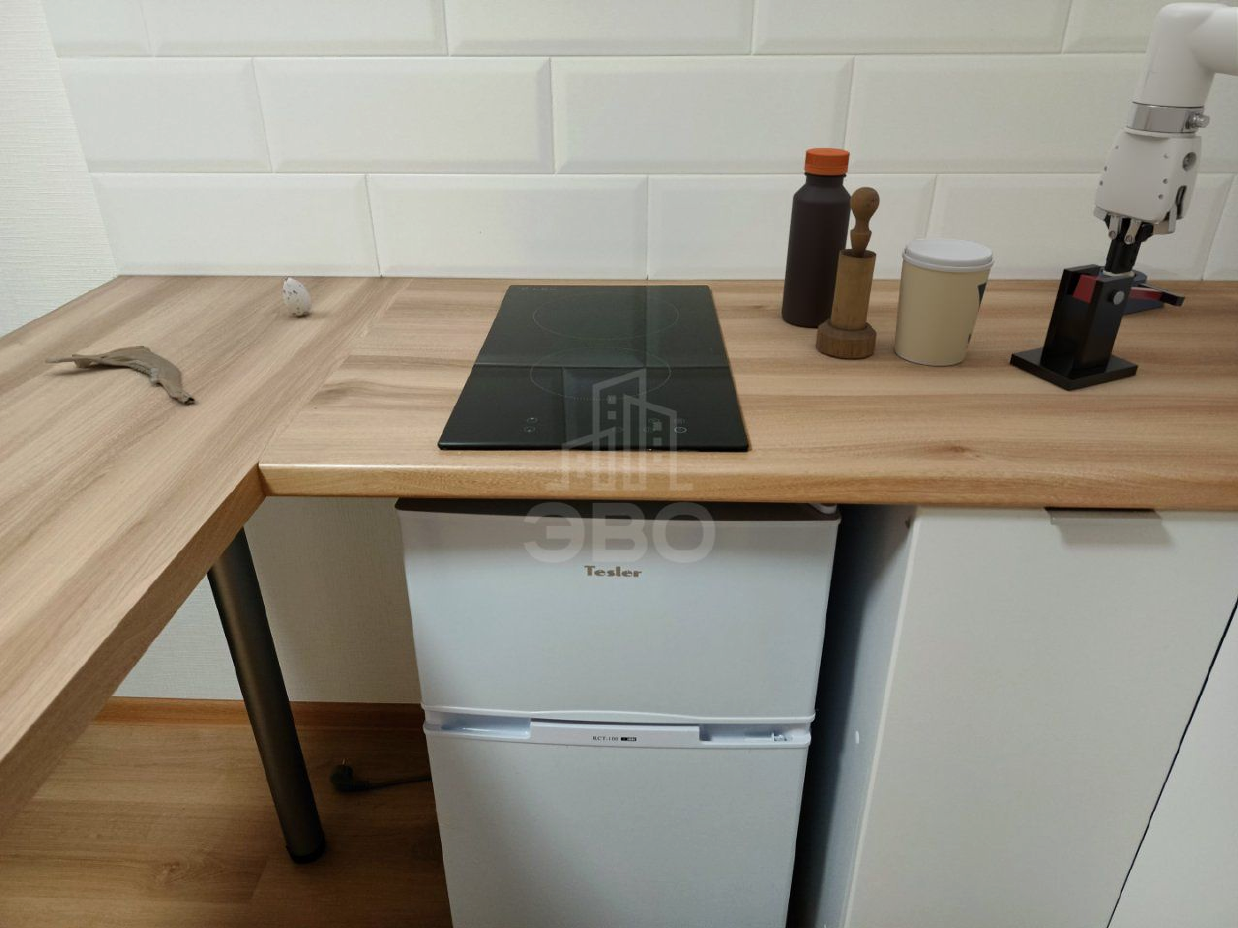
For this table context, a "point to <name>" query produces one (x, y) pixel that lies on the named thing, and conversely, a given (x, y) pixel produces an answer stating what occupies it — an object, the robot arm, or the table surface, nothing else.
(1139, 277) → the button box
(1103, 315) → the black stand
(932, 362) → the coffee cup
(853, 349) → the mortar and pestle
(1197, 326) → the table surface
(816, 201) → the bottle
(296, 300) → the egg
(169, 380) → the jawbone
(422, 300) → the table surface
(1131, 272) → the button
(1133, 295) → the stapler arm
